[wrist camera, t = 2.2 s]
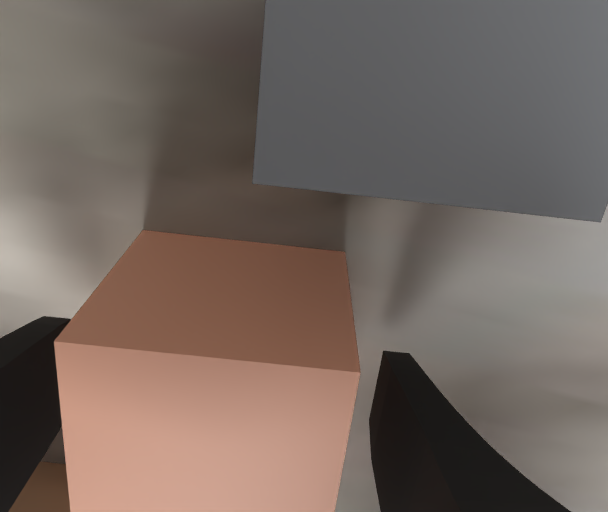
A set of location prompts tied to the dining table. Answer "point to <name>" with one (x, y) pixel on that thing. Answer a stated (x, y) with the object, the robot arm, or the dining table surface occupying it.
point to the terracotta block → (210, 379)
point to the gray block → (438, 102)
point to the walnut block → (45, 490)
